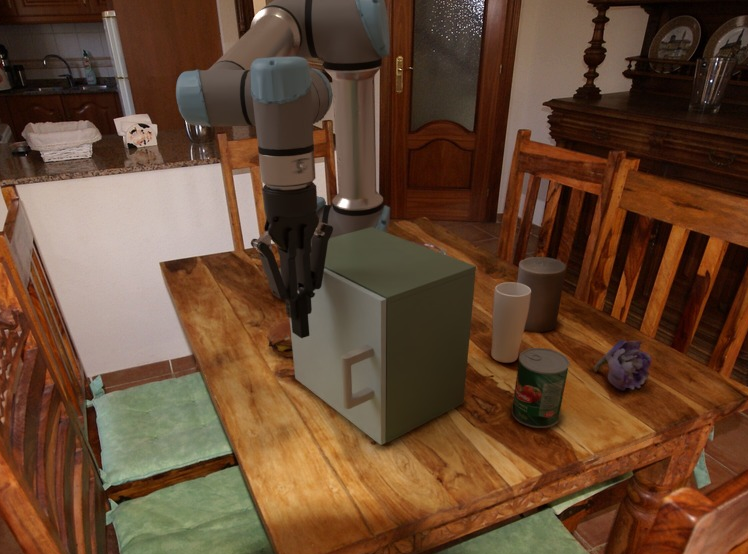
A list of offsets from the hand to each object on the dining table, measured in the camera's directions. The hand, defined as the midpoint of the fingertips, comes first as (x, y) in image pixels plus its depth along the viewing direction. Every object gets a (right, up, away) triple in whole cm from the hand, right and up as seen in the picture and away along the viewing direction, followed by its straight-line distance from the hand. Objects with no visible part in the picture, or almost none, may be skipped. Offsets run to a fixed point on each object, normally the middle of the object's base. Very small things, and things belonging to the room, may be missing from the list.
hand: (300, 333), depth 91 cm
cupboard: (+13, -10, +16) cm, 23 cm away
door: (+3, -14, +9) cm, 17 cm away
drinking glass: (+39, -4, +25) cm, 46 cm away
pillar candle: (+49, +4, +37) cm, 62 cm away
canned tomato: (+40, -14, +8) cm, 43 cm away
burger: (-5, -2, +30) cm, 31 cm away
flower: (+57, -8, +16) cm, 60 cm away
